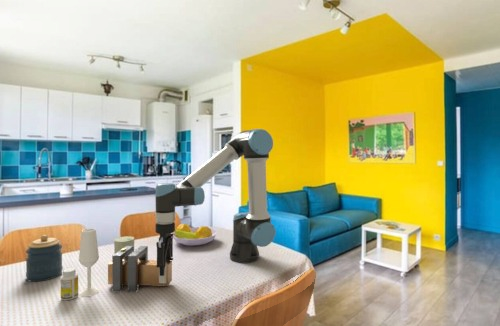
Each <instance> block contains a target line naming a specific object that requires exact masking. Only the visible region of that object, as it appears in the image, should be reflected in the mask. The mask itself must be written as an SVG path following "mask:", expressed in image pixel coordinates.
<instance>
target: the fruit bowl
mask: <svg viewBox="0 0 500 326" xmlns="http://www.w3.org/2000/svg"><path fill="white" fill-rule="evenodd" d="M217 233H218V231H217V230H215V229H213V228H211V227H209V226H206V225H205V226H204V225H201V226H199V227H190V225H189V224H188V223H180V224H179V225H177V227H175V231H174V232H173V233H172V234H173V240H174V241H175V243H178V244H181V245H184V246H188V247H192V246H194V247H195V246H204V245H206V244H208V243H210V242H212V241H213V240H215V239H216V236H217Z"/></svg>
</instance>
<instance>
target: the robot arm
mask: <svg viewBox="0 0 500 326" xmlns="http://www.w3.org/2000/svg"><path fill="white" fill-rule="evenodd" d="M273 147H274V139H273V137H272V135H271V133H269V132H268V131H267V130H265V129H261V128H255V129H254V128H253V129H250V130H249V129H247V130H242V131H241V132H239V133H237V134H236V135H235V136H233V137H232V138H231V139H230V140H229V141H227V142H226V143H225V144H224V148H222V149H220V150H219V151H218V152H217V153H215V155H213V156H212V157H211V158H210V159H208V160H206V162H204V164H202V165H201V166H199V167H198V168H196V169H195V171H193V172H192V173H191V174H189V175H188V176H187V177H186V178H185V179H183V180H182V181H181V182H178V183H176V184H175V183H174V182H173V183H171V182H164V183H158V184H156V186H155V213H154V217H155V222H156V223H155V228H154V229H155V230H154V231H155V233H156V234H158V235H159V237H158V241H156V243H155V244H156V261H157V266H156V267H159V283H166V261H174V258H173V257H174V255H173V252H174V251H173V250H174V248H173V247H174V246H173V245H174V244H173V243H174V241H173V240H174V238H173V233H174V231H175V230H176V222H175V221H176V207H187V206H188V207H189V206H190V207H191V206H195V207H196V206H200V205H202V204H204V202H205V197H206V196H205V191H204V188H203V186H204V185H206V183H208V182H209V181H210V180H211V179H213V178H214V177H215V176H216V175H217V174H219V173H220V172H221V171H223V169H225V168H226V167H227V166H228V165H229V164H231V162H233V161H237V160H238V159H240V158H241V157H243V159H244V160H245V161H246V163H247V165H246V167H247V189H248V191H247V192H248V193H247V194H248V211H247V212H238V213H235V214H234V215H233V220H232V222H233V223H232V224H233V226H232V227H233V228H232V233H233V237H232V238H233V239H232V242H233V243H232V246H231V249H230V252H229V259H230V260H231V261H233V262H237V263H242V264H243V263H252V262H255V261H258V260H260V250H259V248H258V247H261V248H263V247H267V246H269V245H271V243H272V242H273V241H274V239H275V236H276V232H277V231H276V228H275V226H274V224H273V223H271V222H272V221H271V220H272V219H271V214H269V213H268V199H267V198H268V195H267V194H268V193H267V192H268V191H267V164H266V163H267V161H268V160H269V158H270V155H269V154H270V152H272V151H271V150H273Z"/></svg>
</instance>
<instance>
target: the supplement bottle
mask: <svg viewBox="0 0 500 326" xmlns="http://www.w3.org/2000/svg"><path fill="white" fill-rule="evenodd" d="M76 271H77V270H76V268H75V267H69V268H65V269H64V270H62V275H61V276H60V282H59V283H60V299H61V300H62V301H71V300H74V299H76V298H77V297H78V296H79V274H78V273H77V272H76Z"/></svg>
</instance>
